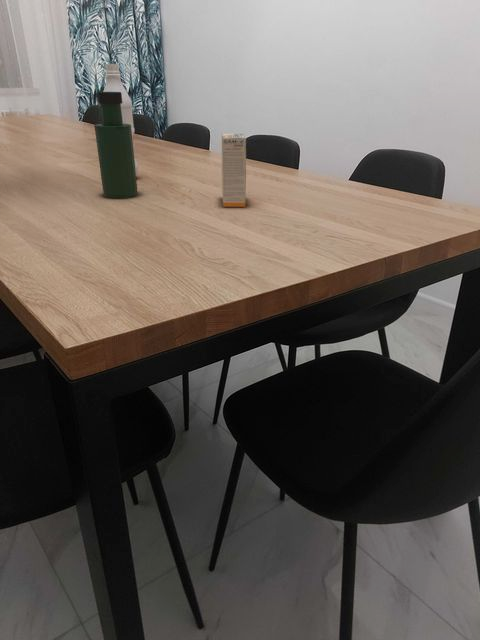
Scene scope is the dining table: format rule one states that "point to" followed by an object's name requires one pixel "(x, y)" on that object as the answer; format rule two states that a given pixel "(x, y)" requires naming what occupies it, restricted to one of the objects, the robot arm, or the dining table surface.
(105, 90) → the water bottle
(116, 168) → the glass bottle
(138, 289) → the dining table surface
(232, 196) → the supplement box
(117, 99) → the stopper
